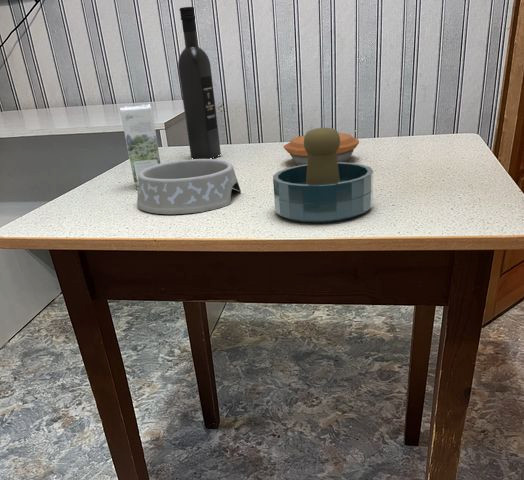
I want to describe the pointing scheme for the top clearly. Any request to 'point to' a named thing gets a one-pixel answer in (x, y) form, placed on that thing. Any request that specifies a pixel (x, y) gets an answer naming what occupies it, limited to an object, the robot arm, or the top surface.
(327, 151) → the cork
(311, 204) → the bowl
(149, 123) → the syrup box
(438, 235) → the top surface
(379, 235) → the top surface
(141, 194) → the dog bowl
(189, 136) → the wine bottle
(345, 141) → the pie
